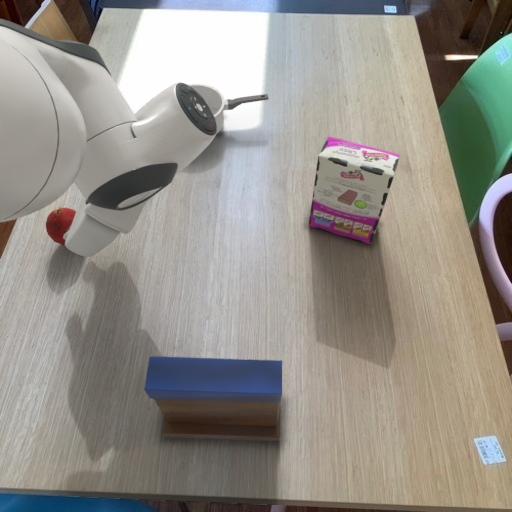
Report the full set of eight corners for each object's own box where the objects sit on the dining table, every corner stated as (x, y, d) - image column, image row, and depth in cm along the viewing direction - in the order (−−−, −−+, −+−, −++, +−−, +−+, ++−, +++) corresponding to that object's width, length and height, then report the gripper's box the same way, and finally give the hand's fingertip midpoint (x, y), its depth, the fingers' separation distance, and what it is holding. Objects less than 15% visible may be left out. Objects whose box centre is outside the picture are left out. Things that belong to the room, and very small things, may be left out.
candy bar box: (378, 224, 82) (402, 153, 68) (371, 246, 79) (395, 177, 65) (315, 205, 84) (327, 133, 70) (306, 226, 81) (317, 155, 68)
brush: (279, 441, 62) (287, 401, 48) (164, 437, 62) (137, 396, 48) (279, 402, 64) (286, 354, 50) (169, 399, 65) (145, 349, 51)
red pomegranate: (78, 258, 78) (62, 228, 71) (48, 248, 79) (29, 218, 72) (96, 231, 81) (82, 200, 74) (67, 222, 82) (50, 191, 75)
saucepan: (272, 137, 94) (273, 114, 89) (170, 148, 92) (165, 125, 87) (263, 100, 100) (263, 77, 95) (167, 109, 98) (163, 86, 94)
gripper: (123, 106, 69) (77, 153, 77) (85, 217, 57) (36, 257, 66) (159, 132, 72) (111, 173, 81) (129, 240, 61) (78, 276, 69)
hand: (77, 212), depth 73 cm, fingers open, 8 cm apart
